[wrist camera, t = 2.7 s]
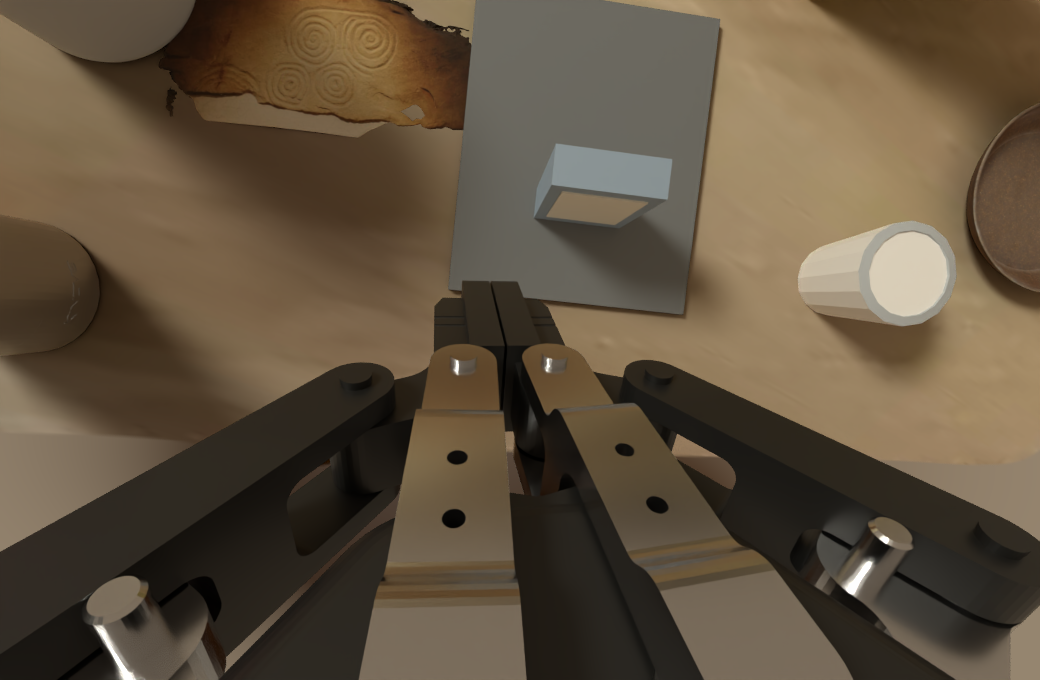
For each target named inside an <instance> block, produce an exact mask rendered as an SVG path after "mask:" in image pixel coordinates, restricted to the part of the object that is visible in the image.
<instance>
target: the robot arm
mask: <svg viewBox="0 0 1040 680" xmlns="http://www.w3.org/2000/svg"><path fill="white" fill-rule="evenodd" d="M99 296H100V290H99V279H98V276H97V272H96V269H95V266H94V264H93V262H92V260H91V258H90V257H89V255H88V253H87V252H86V251H85V250H84V249H83V247H82V246H81V245H80V244H79V243H78V242H77V241H76V240H75V239H73V238H72V237H71V236H70V235H68V234H67V233H65V232H63V231H61V230H59V229H58V228H56V227H54V226H50V225H47V224H44V223H40V222H36V221H30V220H25V219H20V218H15V217H10V216H4V215H0V356H6V355H15V354H25V353H35V352H44V351H50V350H54V349H57V348H60V347H63V346H65V345H66V344H68V343H70V342H72V341H74V340H75V339H76V338H77V337H78V336H79V335H81V334H82V333H83V332H84V331H85V330H86V328H87V327H88V325H89V324H90V323H91V321H92V320H93V317H94V315H95V312H96V310H97V308H98V302H99ZM507 431H513V432H514V448H513V459H514V462H515V465H516V469H517V472H518V475H519V479H520V482H521V485H522V489H523V492H524V495H522V494H515V493H509V482H508V468H507V453H506V439H505V432H507ZM677 434H679V435H681V436H683V437H684V438H686V439H688V440H690V441H692V442H694V443H695V444H697V445H699V446H701V447H703V448H705V449H706V450H708V451H710V452H712V453H714V454H716V455H717V456H719V457H721V458H723V459H724V460H726V461H727V462H728V463H729V464H730V465H731V466H732V468H733V469H734V471H735V474H736V483H735V485H734V488H733V490H731V489H728V488H726V487H724V486H722V485H720V484H718V483H717V482H715V481H713V480H712V479H710V478H708V477H706V476H705V475H703V474H701V473H700V472H698V471H696V470H694V469H693V468H691V467H689V466H687V465H686V464H684V463H682V462H680V461H679V460H677V459H676V458H675V456H674V455H673V454H672V452H671V451H672V448H673V445H674V442H675V439H676V435H677ZM329 458H330V463H331V466H329V467H328V468H327V469H325V470H324V471H323V472H321V473H320V474H319V475H317V476H316V477H315V478H314V479H312V480H311V481H309V482H308V483H307V484H306V485H304V486H303V487H301V488H300V489H299V490H297V491H296V492H295V493H293V494H292V495H291V496H289V495H290V493H291V491H292V489H293V488H294V486H295V485H296V484H297V483H298V482H299V481H300V480H301V479H302V478H303V477H305V476H306V475H308V474H309V473H310V472H312V471H313V470H314V469H316V468H317V467H319V466H320V465H321V464H323V463H324V462H325V461H327V460H328V459H329ZM401 484H402V485H401ZM400 485H401V490H400ZM399 490H400V496H399V502H398V507H397V512H396V517H395V518H394V519H391V520H389V521H387V522H385V523H383V524H381V525H379V526H378V527H376V528H375V529H373V530H372V531H370V532H368V533H367V534H365V535H364V536H363V537H362V538H360V539H359V540H358V541H357V542H355V543H354V544H353V545H352V546H351V547H350V548H349V549H348V550H347V551H346V552H344V553H343V554H342V555H341V556H340V557H339V559H338V560H337V561H336V562H335V563H334V564H333V565H332V566H331V567H330V568H329V569H328V570H327V571H326V572H325V573H324V574H323V575H322V576H321V577H320V578H319V579H318V580H317V581H316V582H315V583H314V584H313V585H312V586H311V587H310V588H309V589H308V590H307V591H306V592H305V593H304V594H303V595H302V596H301V597H300V598H299V599H298V600H297V601H296V602H295V603H294V604H293V605H292V606H291V607H290V608H289V609H288V610H287V611H286V612H285V613H284V614H283V615H282V616H281V617H280V618H279V619H278V620H277V621H276V622H275V623H274V624H273V625H272V626H271V627H270V628H269V629H268V630H267V631H266V632H265V633H264V634H263V635H262V636H261V637H260V638H259V639H258V640H257V641H256V642H255V643H254V644H253V645H252V646H251V647H250V648H249V649H248V650H247V651H246V652H245V653H244V654H243V655H242V656H241V657H240V658H239V659H238V660H237V661H236V662H235V664H233V666H231V667H230V669H228V670H227V671H226V672H225V668H226V657H227V656H228V655H229V654H230V653H231V652H232V651H233V650H234V649H235V648H236V647H237V646H238V645H239V644H241V643H242V642H243V641H244V640H245V639H246V638H247V637H248V636H249V635H250V634H251V633H252V632H253V631H254V630H255V629H257V628H258V627H259V626H260V625H261V624H262V623H263V622H264V621H265V620H266V619H267V618H268V617H269V616H270V615H271V614H273V613H274V612H275V611H276V610H277V609H278V608H279V607H280V606H281V605H282V604H283V603H284V602H285V601H286V600H287V599H288V598H290V597H291V596H292V595H293V594H294V593H295V592H296V591H297V590H298V589H299V588H300V587H301V586H302V585H303V584H304V583H306V582H307V581H308V580H309V579H310V578H311V577H312V576H313V575H314V574H315V573H316V572H317V571H318V570H319V569H320V568H322V567H323V566H324V565H325V564H326V563H327V562H328V561H329V560H330V559H331V558H332V557H333V556H334V555H335V554H337V553H338V552H339V551H340V550H341V549H342V548H343V547H344V546H345V545H346V544H347V543H348V542H349V541H350V540H351V539H353V538H354V537H355V536H356V535H357V534H358V533H359V532H360V531H361V530H362V529H363V528H364V527H365V526H366V525H367V524H369V522H371V521H372V520H373V519H374V518H375V517H376V516H377V515H378V514H379V513H380V512H381V511H382V510H383V509H385V508H386V507H387V506H388V505H389V504H390V503H391V502H392V501H393V500H394V499H395V498H396V496H397V495H398V493H399ZM1039 605H1040V541H1038V540H1037V539H1036V538H1035V537H1033V536H1032V535H1030V534H1029V533H1028V532H1026V531H1024V530H1023V529H1021V528H1020V527H1018V526H1016V525H1015V524H1013V523H1011V522H1010V521H1008V520H1006V519H1004V518H1002V517H1000V516H997V515H995V514H993V513H991V512H989V511H987V510H985V509H982V508H980V507H978V506H976V505H974V504H971V503H969V502H967V501H965V500H963V499H961V498H959V497H956V496H954V495H952V494H950V493H948V492H946V491H943V490H941V489H939V488H937V487H935V486H932V485H930V484H928V483H926V482H924V481H922V480H919V479H917V478H915V477H913V476H911V475H909V474H906V473H904V472H902V471H900V470H898V469H896V468H893V467H891V466H889V465H887V464H885V463H883V462H880V461H878V460H876V459H874V458H872V457H870V456H867V455H865V454H863V453H861V452H859V451H856V450H854V449H852V448H850V447H848V446H846V445H843V444H841V443H839V442H837V441H835V440H833V439H830V438H828V437H826V436H824V435H822V434H820V433H817V432H815V431H813V430H811V429H809V428H807V427H804V426H802V425H800V424H798V423H796V422H794V421H791V420H789V419H787V418H785V417H783V416H780V415H778V414H776V413H774V412H772V411H770V410H767V409H765V408H763V407H761V406H759V405H757V404H754V403H752V402H750V401H748V400H746V399H744V398H741V397H739V396H737V395H735V394H733V393H731V392H728V391H726V390H724V389H722V388H720V387H718V386H715V385H713V384H711V383H709V382H707V381H704V380H702V379H700V378H698V377H696V376H694V375H691V374H689V373H687V372H685V371H683V370H681V369H678V368H676V367H674V366H672V365H669V364H666V363H663V362H659V361H653V360H639V361H635V362H632V363H630V364H629V365H627V366H626V368H625V371H624V376H623V377H617V376H612V375H606V374H601V373H597V372H593V371H592V369H591V368H590V366H589V364H588V363H587V361H586V360H585V358H584V357H583V356H582V355H581V354H580V353H579V352H577V351H576V350H574V349H572V348H570V347H567V346H565V344H564V342H563V340H562V338H561V335H560V333H559V331H558V329H557V327H556V326H555V322H554V320H553V319H552V316H551V314H550V311H549V309H548V307H547V306H545V305H544V304H543V303H541V302H540V301H539V300H537V299H524V297H523V294H522V292H521V289H520V286H519V284H518V282H517V281H491V282H489V281H464V280H462V291H461V298H442V299H441V300H440V301H439V302H438V303H437V304H436V305H435V312H434V353H433V354H432V356H431V358H430V363H429V367H427V368H426V369H425V370H423V371H422V372H420V373H418V374H415V375H413V376H409V377H405V378H401V379H396V380H394V376H393V374H392V373H391V371H390V370H388V369H387V368H385V367H383V366H381V365H378V364H373V363H351V364H346V365H342V366H339V367H336V368H334V369H332V370H330V371H328V372H326V373H324V374H323V375H321V376H319V377H317V378H315V379H313V380H312V381H310V382H308V383H306V384H304V385H303V386H301V387H299V388H297V389H295V390H293V391H292V392H290V393H288V394H286V395H284V396H283V397H281V398H279V399H277V400H275V401H273V402H272V403H270V404H268V405H266V406H264V407H263V408H261V409H259V410H257V411H255V412H253V413H252V414H250V415H248V416H246V417H244V418H243V419H241V420H239V421H237V422H235V423H233V424H232V425H230V426H228V427H226V428H224V429H223V430H221V431H219V432H217V433H215V434H213V435H212V436H210V437H208V438H206V439H204V440H203V441H201V442H199V443H197V444H195V445H193V446H192V447H190V448H188V449H186V450H185V451H183V452H181V453H179V454H177V455H175V456H174V457H172V458H170V459H168V460H166V461H165V462H163V463H161V464H159V465H157V466H155V467H154V468H152V469H150V470H148V471H146V472H145V473H143V474H141V475H139V476H137V477H135V478H134V479H132V480H130V481H128V482H126V483H124V484H123V485H121V486H119V487H117V488H115V489H114V490H112V491H110V492H108V493H106V494H104V495H103V496H101V497H99V498H97V499H95V500H94V501H92V502H90V503H88V504H87V505H85V506H83V507H81V508H79V509H78V510H75V511H74V512H72V513H70V514H68V515H66V516H65V517H63V518H61V519H59V520H57V521H55V522H54V523H52V524H50V525H48V526H46V527H45V528H43V529H41V530H39V531H37V532H35V533H34V534H32V535H30V536H28V537H26V538H25V539H23V540H21V541H19V542H17V543H15V544H14V545H12V546H10V547H8V548H6V549H5V550H3V551H1V552H0V680H1010V634H1011V633H1012V632H1013V631H1014V630H1015V629H1016V628H1017V627H1018V626H1019V625H1020V624H1021V623H1022V622H1023V621H1024V620H1025V619H1026V618H1027V617H1028V616H1029V615H1030V614H1031V613H1032V612H1033V611H1034V610H1035V609H1036V608H1038V606H1039Z"/></svg>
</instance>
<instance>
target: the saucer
mask: <svg viewBox="0 0 1040 680" xmlns="http://www.w3.org/2000/svg"><path fill="white" fill-rule="evenodd" d="M967 218H968V224H969V228H970V231H971V234H972V237H973V239H974V241H975V244H976V246H977V247H978V249H979V251H980V252H981V254H982V255H983V256H984V258H985V259H986V260H987V261H988V262H989V263H990V265H991V266H993V267H994V268H995V269H996V270H997V271H998V272H999V273H1000V274H1002V275H1003V276H1005V277H1006V278H1008V279H1009V280H1011V281H1013V282H1014V283H1016V284H1018V285H1020V286H1022V287H1024V288H1026V289H1029V290H1032V291H1036V292H1040V103H1038V104H1035V105H1033V106H1031V107H1029V108H1028V109H1026V110H1024V111H1023V112H1021V113H1020V114H1018V115H1017V116H1016V117H1014V118H1013V119H1012V120H1011V121H1010V122H1009V123H1008V124H1007V125H1006V126H1005V127H1004V128H1003V129H1002V130H1001V131H1000V132H999V133H998V134H997V136H996V137H995V138H994V139H993V140H992V142H991V143H990V144H989V145H988V147H987V148H986V150H985V151H984V153H983V155H982V157H981V158H980V160H979V162H978V164H977V166H976V169H975V171H974V173H973V176H972V179H971V182H970V186H969V191H968V197H967Z"/></svg>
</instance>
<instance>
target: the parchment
mask: <svg viewBox="0 0 1040 680" xmlns="http://www.w3.org/2000/svg"><path fill="white" fill-rule="evenodd" d="M409 10H411V11H413V9H412V8H411V7H408V5H406V4H403V3H399V2H397V1H393V0H392V1H391V0H196V1H195V4H194V7H193V10H192V12H191V15H190V17H189V19H188V20H187V22H186V24H185V25H184V27H183V28H182V30H181V31H180V32H179V33H178V34H177V35H176V36H175V37H174V38H173V39H172V40H171V41H170V42H169V43H168V44H167V47H166V48H165V51H164V56H165V57H164V58H162V59H161V60H160V62H159V67H160V68H163V69H164V70H170V71H171V72H169V73H170V75H171V77H172V79H173V80H174V82H175V83H177V85H178V86H179V88H180V89H181V90H183V92H184V93H185V94H187V95H189V97H190V98H193V100H194V104H195V107H196V110H197V111H198V113H199V114H200V115H201V117H202V118H203V119H204V120H206V121H218V122H227V123H236V124H247V125H256V126H258V125H259V126H268V127H276V128H286V129H295V130H303V131H312V132H318V133H327V134H335V135H342V136H348V137H356V138H358V137H360V136H362V135H363V134H364V133H366V132H368V131H370V130H372V129H375V128H377V127H379V126H381V125H384V124H386V123H388V122H391V123H394V124H396V125H397V126H413V125H418V124H421V125H422V127H424V128H427V129H436V128H440V129H442V128H444V127H448V128H450V129H452V130H464V120H465V109H466V99H467V88H468V78H469V68H470V57H471V47H472V45H471V44H470V43H469V37H467V38H465V37H463V36H461V34H460V32H461V30H460V29H463V28H458V27H454V26H448V27H443V26H439V25H437V24H435V23H433V22H432V21H428V20H425V21H421V20H419V19H418V18H416V17H415V15H413V14H411V13H410V11H409ZM434 28H435V29H434ZM448 28H450V29H451V30H452V29H454V28H455V29H456V31H455V32H453V33H452V32H448V31H447V29H448ZM444 29H445V30H446V31H443V30H444ZM464 30H466V29H464ZM466 31H469V30H466ZM175 94H177V92H175V91H174V90H172V89H171V88H170V89H169V90H168V97H167V104H168V105H167V106H166V108H167V110H169V111H170V116H173V112H172V110H173V106H172V105H171V103H173V102H174V101H173V100H174V99H176V98H175ZM415 104H417V105H418V106H419V107H420V108H421V109H422V111H423V112H424V114H425V116H424V117H423V118H422V119H415V120H414V121H411V120H410V119H409V118H408V117H407V116H406V115H404V114H403V113H402V112H400V111H402V110H404V109H406V108H408V107H410V106H411V105H415Z"/></svg>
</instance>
